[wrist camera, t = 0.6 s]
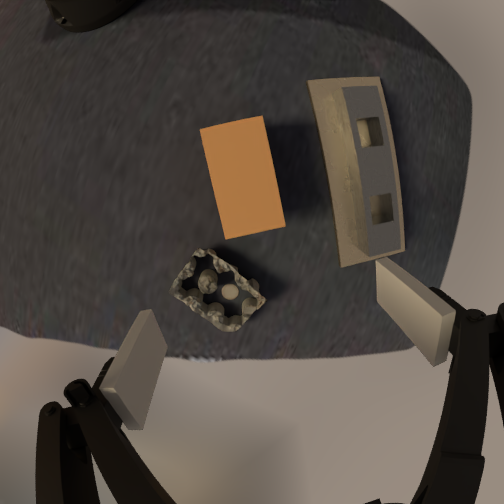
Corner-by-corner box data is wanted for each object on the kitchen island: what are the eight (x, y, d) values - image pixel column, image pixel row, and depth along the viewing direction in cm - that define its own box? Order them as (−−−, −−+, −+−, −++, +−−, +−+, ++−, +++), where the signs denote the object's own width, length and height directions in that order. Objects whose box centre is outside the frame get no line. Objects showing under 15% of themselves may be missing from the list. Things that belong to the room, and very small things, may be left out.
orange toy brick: (207, 136, 32) (199, 129, 25) (257, 125, 32) (262, 115, 25) (227, 224, 35) (225, 239, 28) (276, 213, 35) (285, 226, 28)
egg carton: (268, 287, 38) (272, 302, 34) (232, 325, 40) (232, 342, 36) (204, 237, 36) (201, 247, 32) (170, 280, 37) (163, 293, 33)
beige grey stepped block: (305, 82, 30) (314, 72, 26) (376, 78, 30) (391, 70, 26) (339, 265, 38) (350, 277, 33) (402, 249, 37) (417, 259, 33)
